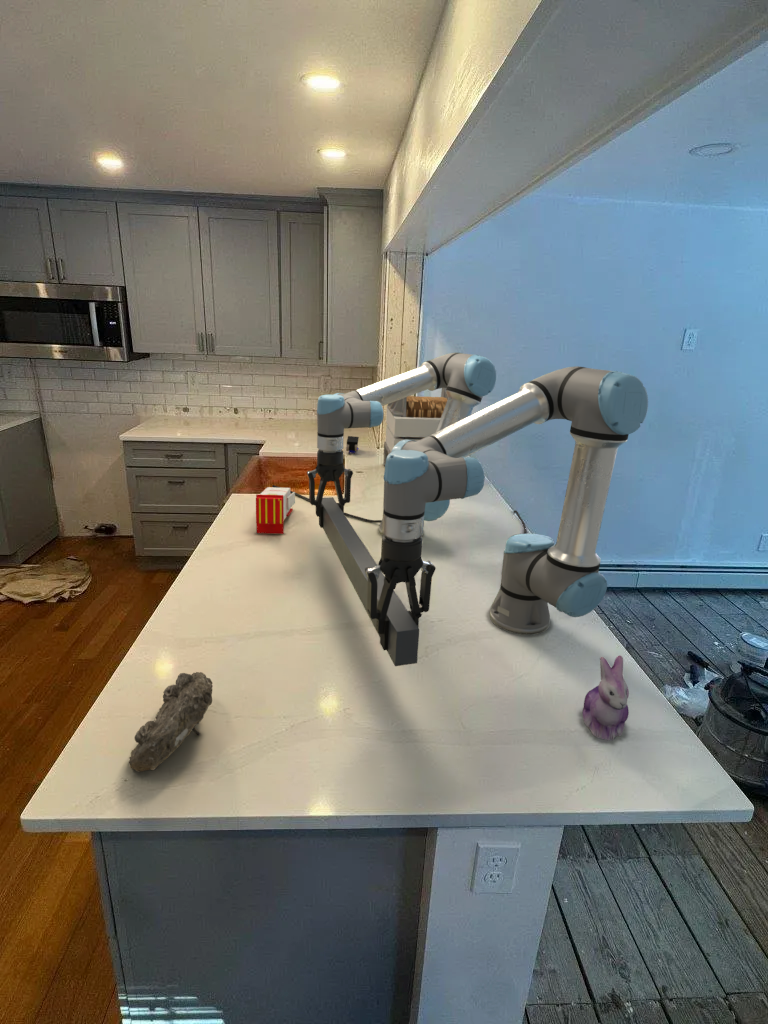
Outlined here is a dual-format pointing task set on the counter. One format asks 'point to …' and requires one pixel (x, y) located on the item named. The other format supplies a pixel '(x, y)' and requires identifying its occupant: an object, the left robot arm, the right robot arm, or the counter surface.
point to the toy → (273, 509)
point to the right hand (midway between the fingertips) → (396, 644)
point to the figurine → (607, 702)
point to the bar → (354, 564)
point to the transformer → (412, 419)
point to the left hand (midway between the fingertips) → (329, 525)
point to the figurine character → (352, 444)
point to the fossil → (172, 721)
